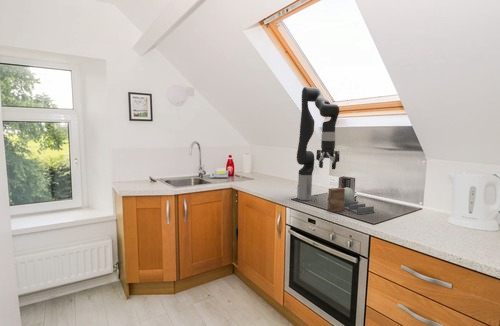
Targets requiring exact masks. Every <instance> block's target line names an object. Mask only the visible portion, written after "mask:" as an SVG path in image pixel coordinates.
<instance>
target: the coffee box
mask: <svg viewBox="0 0 500 326" xmlns="http://www.w3.org/2000/svg"><path fill="white" fill-rule="evenodd" d="M337 186H338V187H337V188H346V187H348V188H351V189H352V190H353V192H354V196H355V193H356V191H355V190H356V177H353V176H352V177H351V176H340V177H338V185H337ZM353 201H355V198H354V199H353ZM353 201H352V202H353Z"/></svg>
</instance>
